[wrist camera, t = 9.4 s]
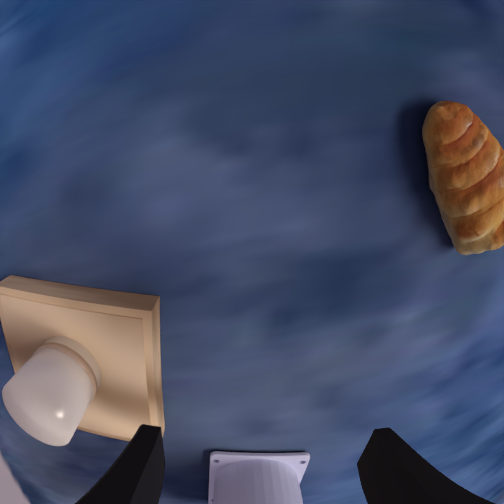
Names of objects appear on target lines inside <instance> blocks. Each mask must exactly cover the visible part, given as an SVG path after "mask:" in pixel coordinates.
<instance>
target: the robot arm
mask: <svg viewBox="0 0 504 504" xmlns="http://www.w3.org/2000/svg"><path fill="white" fill-rule="evenodd" d="M309 459H310V455H309V453H307V452H300V453H240V452H221V451H214V452H212V453H211V454H210V471H209V497H208V504H303V501H302V496H301V491H300V486H299V484H300V482H301V479H302V477H303V474H304V472H305V469H306V467H307V464H308V462H309ZM357 466H358V471H359V477H360V481H361V485H362V489H363V492H364V494H365V497H366V500H367V503H368V504H495V503H492V502H490V501H488V500H486V499H483V498H481V497H479V496H477V495H475V494H473V493H471V492H469V491H468V490H466V489H464V488H463V487H461V486H459V485H458V484H456V483H455V482H453V481H452V480H450V479H449V478H448V477H446V476H445V475H443V474H442V473H441V472H439V471H438V470H437V469H436V468H434V467H433V466H432V465H431V464H430V463H428V462H427V461H426V460H425V459H424V458H422V457H421V456H420V455H419V454H418V453H417V452H416V451H415V450H414V449H412V448H411V447H410V446H409V445H408V444H407V443H406V442H405V441H404V440H403V439H402V438H400V437H399V436H398V435H397V434H396V433H395V432H394V431H393V430H392V429H390V428H381V429H374V431H373V433H372V436H371V438H370V440H369V442H368V444H367V445H366V447H365V449H364V451H363V453H362V455H361V457H360V459H359V461H358V463H357ZM164 468H165V457H164V449H163V440H162V430H161V427H159V426H152V425H146V424H142V425H140V426H139V428H138V430H137V431H136V433H135V435H134V436H133V438H132V439H131V441H130V442H129V444H128V445H127V446H126V448H125V449H124V451H123V452H122V453H121V455H120V456H119V457H118V458H117V460H116V461H115V462H114V463H113V465H112V466H111V467H110V468H109V470H108V471H107V472H106V473H105V474H104V475H103V476H102V478H101V479H100V480H99V481H98V482H97V483H96V484H95V485H94V486H93V487H92V488H91V489H90V490H89V491H88V492H87V493H86V494H85V495H84V496H83V497H82V498H81V499H80V500H79V501H77V502H76V503H75V504H158V502H159V498H160V494H161V490H162V484H163V476H164Z"/></svg>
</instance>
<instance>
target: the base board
mask: <svg viewBox="0 0 504 504" xmlns="http://www.w3.org/2000/svg"><path fill="white" fill-rule="evenodd" d="M0 318H1V323H2V327H3V331H4V336H5V340H6V343H7V347H8V351H9V354H10V358H11V361H12V365H13V368H14V371H15V374H16V373H17V372H18V370H19V369H20V368H21V367H22V366H23V365H24V364H25V363H26V362H27V361H28V360H29V359H30V358H31V356H32V355H33V353H34V352H35V351H36V350H37V349H38V348H39V347H40V346H41V345H43V344H44V343H45V342H46V341H47V340H48V339H49V338H51V337H54V336H64V337H68V338H71V339H73V340H75V341H77V342H79V343H80V344H82V345H83V346H84V347H85V348H86V349H88V351H89V352H90V353H91V354H92V355H93V356H94V358H95V359H96V361H97V363H98V364H99V367H100V370H101V374H102V381H101V385H100V387H99V389H98V390H97V393H96V396H95V397H94V399H93V401H92V403H91V404H90V405H89V406H88V408H87V410H86V412H85V414H84V416H83V417H82V419H81V421H80V423H79V425H78V427H77V429H79V430H82V431H86V432H90V433H94V434H98V435H102V436H107V437H111V438H116V439H121V440H126V441H131V439H132V438H133V436H134V435H135V433H136V431H137V430H138V428H139V426H140V425H142V424H146V425H152V426H159V427H161V430H162V438H163V434H164V429H165V424H164V411H163V397H162V380H161V357H160V296H153V295H144V294H136V293H128V292H120V291H112V290H105V289H97V288H90V287H83V286H76V285H69V284H63V283H56V282H50V281H44V280H38V279H32V278H26V277H20V276H14V275H10V276H8V277H6V278H5V279H3V280H2V281H0Z"/></svg>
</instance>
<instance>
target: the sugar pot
mask: <svg viewBox="0 0 504 504" xmlns="http://www.w3.org/2000/svg"><path fill="white" fill-rule="evenodd" d="M101 381H102V374H101V370H100V367H99V364H98V363H97V361H96V359H95V358H94V356H93V355H92V354H91V353H90V352H89V351H88V349H86V348H85V347H84V346H83V345H82V344H80V343H79V342H77V341H75V340H73V339H71V338H68V337H64V336H54V337H51V338H49V339H48V340H47V341H46V342H45V343H44V344H43V345H41V346H40V347H39V348H38V349H37V350H36V351H35V352H34V353H33V355H32V356H31V358H30V359H29V360H28V361H27V362H26V363H25V364H24V365H23V366H22V367H21V368H20V369H19V370H18V372H17V373H16V374H15V375H14V376H13V377H12V378H11V379H10V380H9V382H8V383H7V384H6V385H5V386H4V388H3V391H2V396H3V401H4V404H5V406H6V408H7V410H8V412H9V414H10V415H11V417H12V418H13V419H14V420H15V422H16V423H17V424H18V425H19V426H20V427H21V428H22V429H23V430H24V431H26V432H27V433H28V434H30V435H31V436H32V437H34V438H36V439H37V440H39V441H41V442H43V443H46V444H49V445H53V446H63V445H66V444H68V443H69V442H70V440H71V438H72V436H73V434H74V432H75V431H76V429H77V427H78V425H79V423H80V421H81V419H82V417H83V416H84V414H85V412H86V410H87V408H88V406H89V405H90V404H91V403H92V401H93V399H94V397H95V396H96V393H97V390H98V389H99V387H100V385H101Z"/></svg>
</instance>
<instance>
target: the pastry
mask: <svg viewBox="0 0 504 504" xmlns="http://www.w3.org/2000/svg"><path fill="white" fill-rule="evenodd" d="M422 135H423V142H424V145H425V149H426V153H427V163H428V168H429V186H430V189H431V190H432V192H433V193H434V195H435V199H436V202H437V204H438V207H439V210H440V213H441V217H442V220H443V222H444V225H445V227H446V229H447V233H448V234H449V236H450V237H451V240H452V243H453V245H454V247H455V249H456V251H457V252H459V253H460V254H463V255H468V254H473V253H475V254H479V253H482V252H484V251H486V250H495V249H498V248H500V247H502V246H503V245H504V150H503V149H502V147H501V146H500V144H499V142H498V141H497V139H496V138H495V137H494V136H493V135H492V134H491V132H490V131H489V129H488V128H487V127H486V126H485V125H484V124H483V123H482V122H481V120H480V119H479V117H478V116H477V115H475V114H474V113H473V112H472V111H471V110H470V109H469V108H468V107H467V106H466V105H464V104H460V103H457V102H451V101H440V102H438V103H436V104H434V105H433V106H432V107H431V108H430V109H429V111H428V113H427V115H426V118H425V120H424V124H423V127H422Z"/></svg>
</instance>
